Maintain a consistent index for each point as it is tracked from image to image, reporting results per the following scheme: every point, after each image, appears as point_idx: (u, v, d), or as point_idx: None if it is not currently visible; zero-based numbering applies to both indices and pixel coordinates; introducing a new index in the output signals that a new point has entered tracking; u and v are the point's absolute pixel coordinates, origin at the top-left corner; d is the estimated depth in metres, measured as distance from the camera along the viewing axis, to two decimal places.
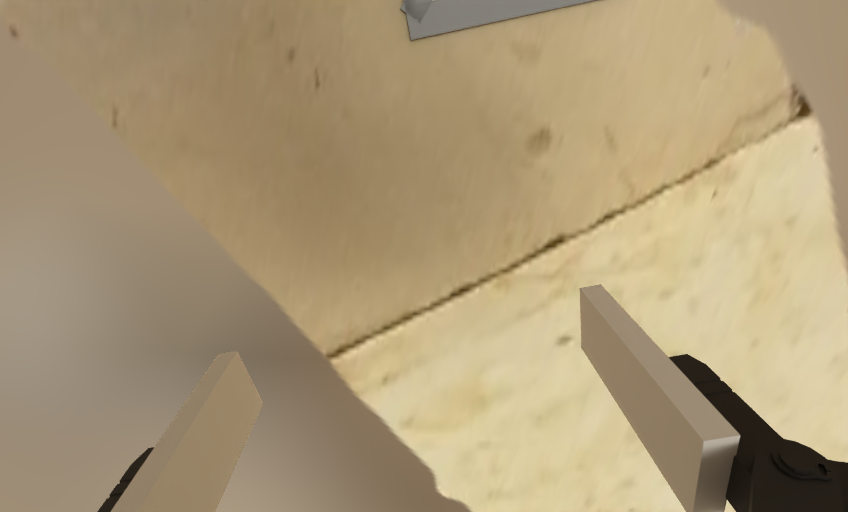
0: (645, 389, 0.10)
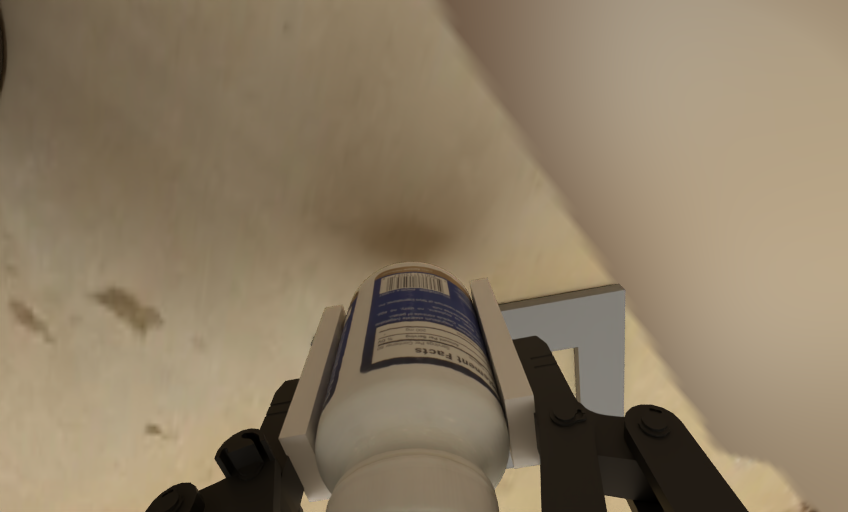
0: (491, 363, 0.12)
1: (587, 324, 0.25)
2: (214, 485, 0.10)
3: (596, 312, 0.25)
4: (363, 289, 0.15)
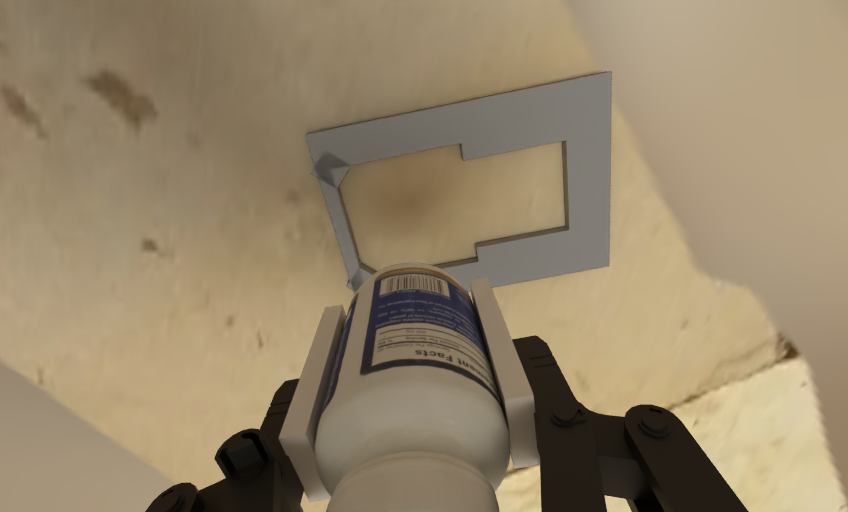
0: (491, 363, 0.12)
1: (575, 113, 0.26)
2: (214, 485, 0.10)
3: (584, 98, 0.25)
4: (363, 290, 0.15)
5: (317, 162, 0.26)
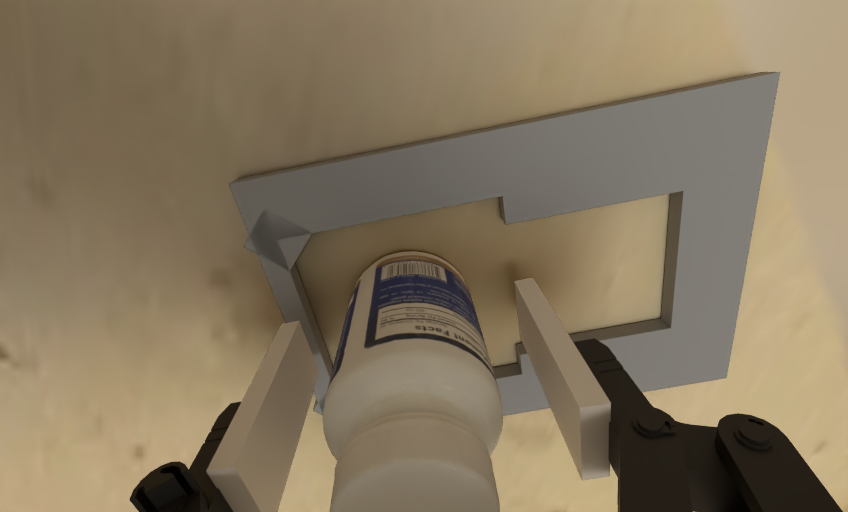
0: (551, 368, 0.12)
1: (704, 145, 0.15)
2: None
3: (723, 120, 0.14)
4: (365, 277, 0.16)
5: (254, 229, 0.15)
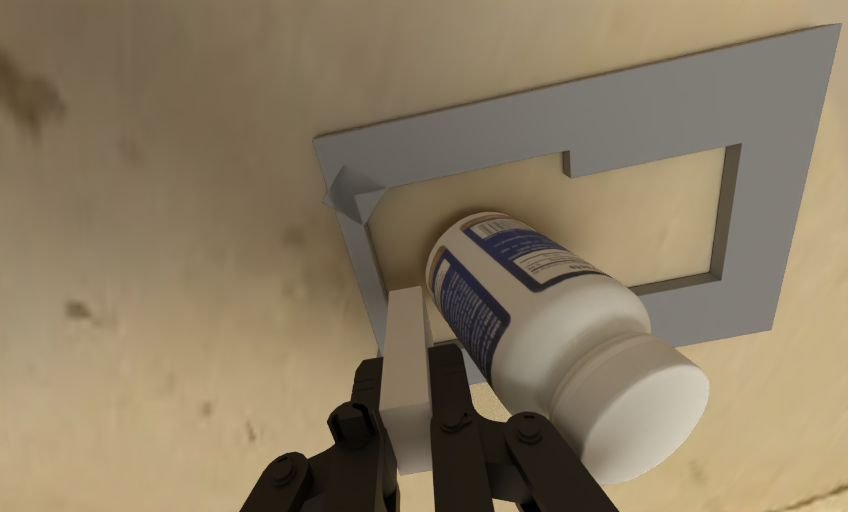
0: None
1: (764, 97, 0.15)
2: (317, 456, 0.11)
3: (784, 72, 0.15)
4: (451, 241, 0.16)
5: (333, 184, 0.16)
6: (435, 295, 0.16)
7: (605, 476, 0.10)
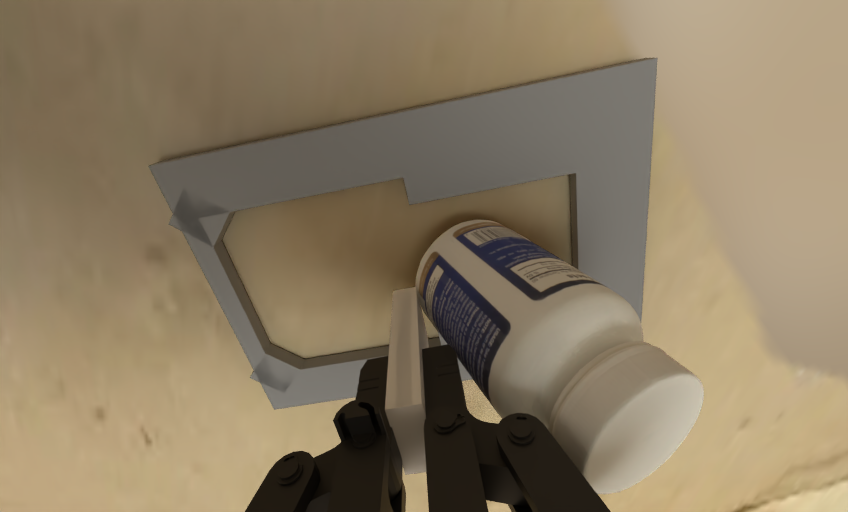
0: None
1: (591, 129, 0.15)
2: (323, 455, 0.11)
3: (607, 105, 0.15)
4: (444, 247, 0.15)
5: (176, 207, 0.17)
6: (426, 302, 0.16)
7: (604, 486, 0.10)
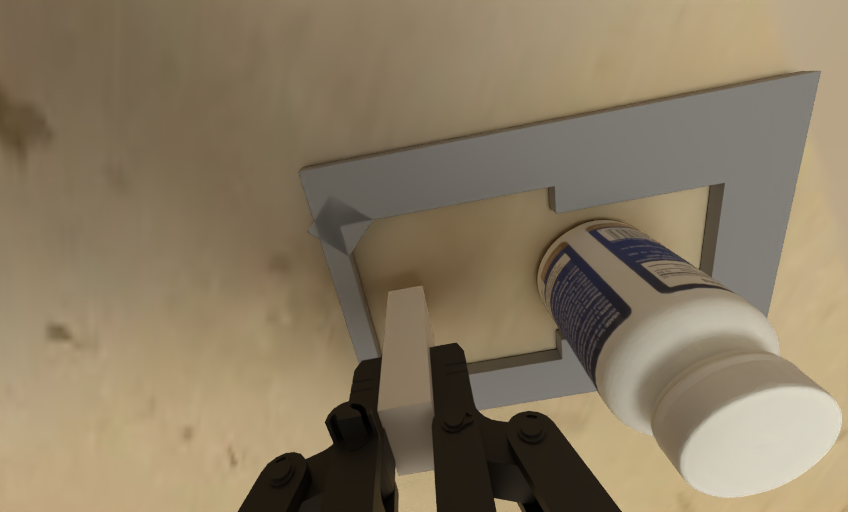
0: None
1: (746, 139, 0.15)
2: (316, 456, 0.11)
3: (765, 116, 0.15)
4: (575, 239, 0.16)
5: (318, 215, 0.16)
6: (546, 286, 0.17)
7: (701, 481, 0.10)
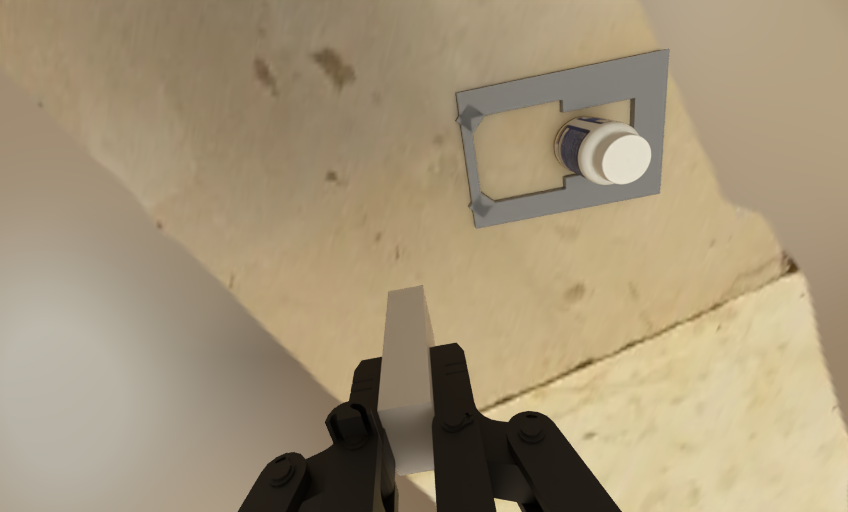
0: None
1: (642, 78, 0.37)
2: (316, 456, 0.11)
3: (649, 67, 0.37)
4: (571, 122, 0.38)
5: (462, 113, 0.38)
6: (559, 144, 0.39)
7: (609, 174, 0.32)
